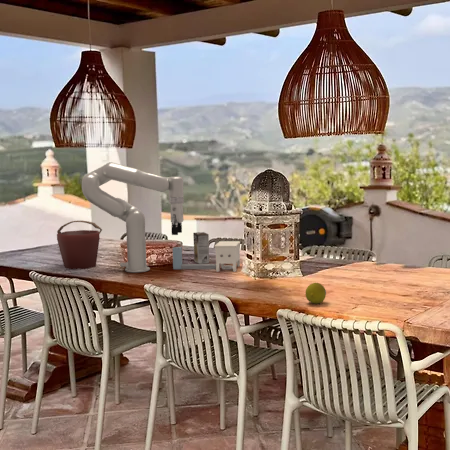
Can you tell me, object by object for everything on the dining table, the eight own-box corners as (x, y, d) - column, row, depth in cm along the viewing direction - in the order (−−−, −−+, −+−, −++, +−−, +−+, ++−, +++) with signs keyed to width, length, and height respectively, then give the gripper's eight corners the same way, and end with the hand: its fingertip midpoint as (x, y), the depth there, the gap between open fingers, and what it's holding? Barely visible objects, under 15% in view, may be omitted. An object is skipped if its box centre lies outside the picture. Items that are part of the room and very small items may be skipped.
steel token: (220, 270, 330) (220, 267, 330) (222, 268, 336) (222, 265, 336) (232, 270, 329) (232, 267, 329) (233, 268, 335) (233, 265, 335)
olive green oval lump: (320, 307, 245) (320, 286, 244) (301, 305, 249) (301, 284, 248) (330, 301, 255) (330, 281, 254) (311, 299, 258) (311, 279, 258)
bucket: (111, 264, 354) (109, 219, 352) (86, 271, 335) (84, 223, 332) (75, 262, 365) (72, 218, 362) (48, 269, 345) (46, 222, 342)
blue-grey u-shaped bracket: (173, 269, 335) (172, 248, 334) (175, 267, 339) (174, 247, 337) (215, 269, 331) (214, 248, 330) (216, 267, 335) (215, 246, 334)
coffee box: (193, 261, 357) (192, 232, 355) (205, 260, 359) (204, 231, 357) (198, 264, 348) (197, 234, 347) (209, 263, 350) (208, 233, 349)
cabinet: (214, 271, 324) (214, 246, 323) (220, 265, 342) (219, 241, 340) (236, 271, 323) (236, 246, 321) (240, 265, 340) (240, 241, 339)
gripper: (179, 201, 324) (180, 235, 326) (186, 199, 341) (187, 231, 343) (165, 201, 325) (165, 235, 327) (172, 199, 342) (173, 231, 344)
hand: (176, 233), depth 335 cm, fingers open, 9 cm apart
